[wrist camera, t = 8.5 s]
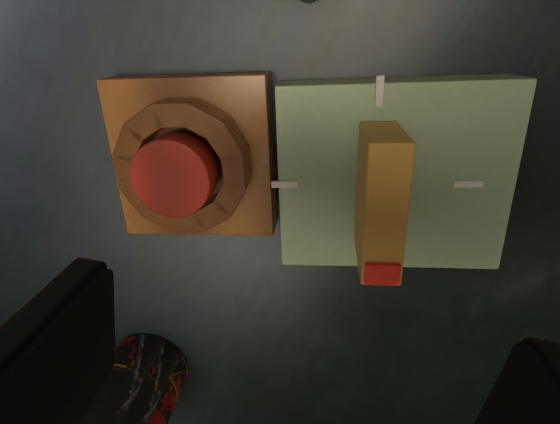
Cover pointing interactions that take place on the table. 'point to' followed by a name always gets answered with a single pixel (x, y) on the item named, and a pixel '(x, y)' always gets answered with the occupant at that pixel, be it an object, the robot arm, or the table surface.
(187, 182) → the button
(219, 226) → the button block
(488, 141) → the green lever base
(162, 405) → the deodorant
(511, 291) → the table surface
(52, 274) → the table surface
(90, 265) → the robot arm
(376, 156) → the lock lever
